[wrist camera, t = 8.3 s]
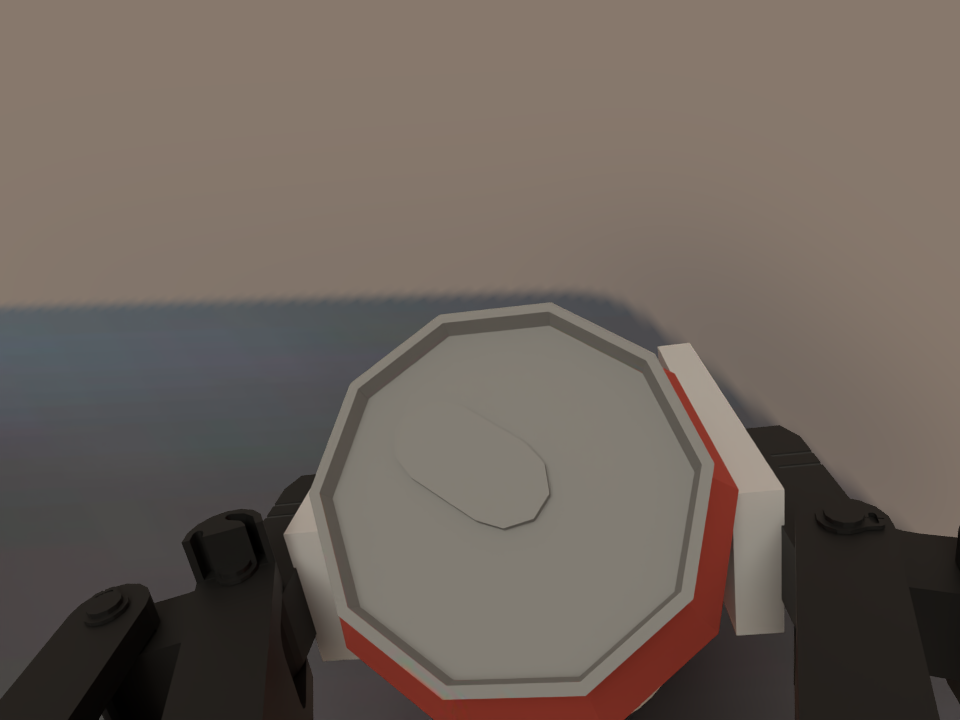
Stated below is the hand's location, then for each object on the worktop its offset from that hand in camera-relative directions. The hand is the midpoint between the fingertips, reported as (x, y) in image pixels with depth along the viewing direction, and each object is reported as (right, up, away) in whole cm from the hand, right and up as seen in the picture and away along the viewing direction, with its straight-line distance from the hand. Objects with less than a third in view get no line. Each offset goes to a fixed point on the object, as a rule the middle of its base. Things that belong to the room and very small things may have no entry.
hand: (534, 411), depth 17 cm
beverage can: (+1, -5, +3) cm, 6 cm away
